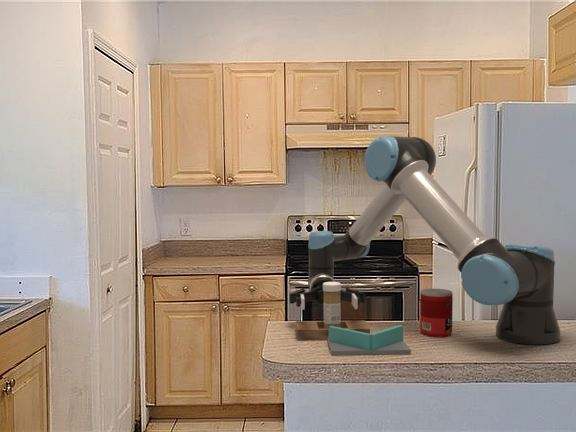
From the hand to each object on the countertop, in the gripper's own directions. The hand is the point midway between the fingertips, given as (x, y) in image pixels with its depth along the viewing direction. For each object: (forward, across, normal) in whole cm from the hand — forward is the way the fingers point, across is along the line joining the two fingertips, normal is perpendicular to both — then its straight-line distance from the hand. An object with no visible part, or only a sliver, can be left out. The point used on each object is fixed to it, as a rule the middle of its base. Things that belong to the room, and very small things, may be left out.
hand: (329, 304), depth 170 cm
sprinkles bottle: (+2, 0, -8) cm, 8 cm away
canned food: (+2, -27, -8) cm, 28 cm away
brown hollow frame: (+2, 0, -8) cm, 8 cm away
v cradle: (+14, -8, -8) cm, 18 cm away
